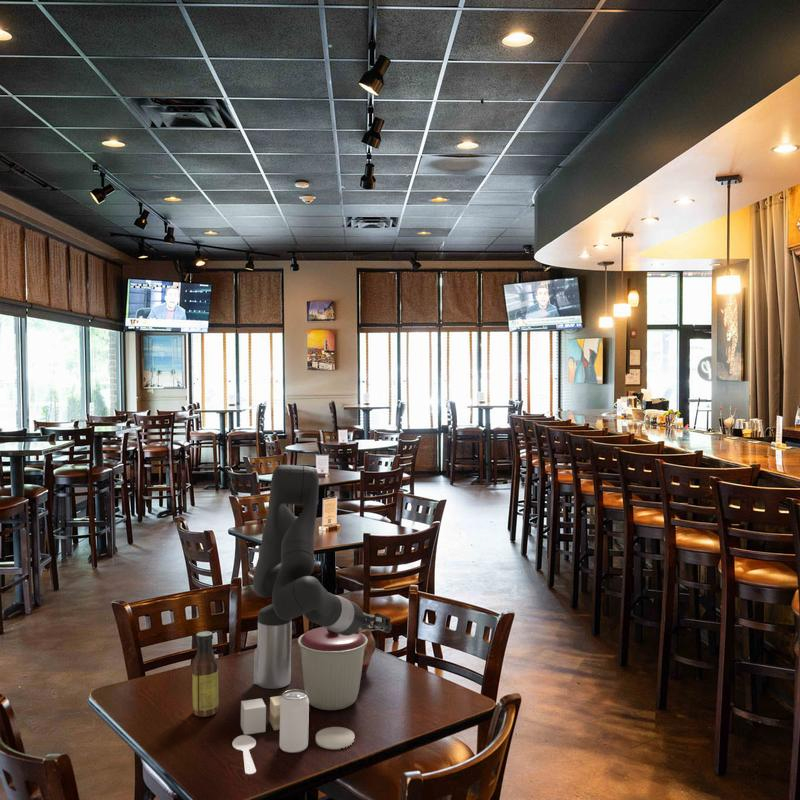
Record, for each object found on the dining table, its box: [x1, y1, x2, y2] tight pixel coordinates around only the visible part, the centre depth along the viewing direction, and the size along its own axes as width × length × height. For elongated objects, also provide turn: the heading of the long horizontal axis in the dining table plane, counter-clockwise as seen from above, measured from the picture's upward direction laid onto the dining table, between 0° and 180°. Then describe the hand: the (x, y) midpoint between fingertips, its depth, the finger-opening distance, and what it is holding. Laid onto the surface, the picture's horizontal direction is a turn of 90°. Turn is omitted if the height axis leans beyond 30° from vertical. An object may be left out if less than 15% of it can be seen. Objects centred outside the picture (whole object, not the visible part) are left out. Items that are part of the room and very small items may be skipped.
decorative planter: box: [359, 624, 376, 676], centre depth 211 cm, size 20×12×14 cm, turn 29°
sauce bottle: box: [191, 630, 219, 718], centre depth 183 cm, size 7×6×20 cm
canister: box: [297, 626, 368, 711], centre depth 191 cm, size 18×18×21 cm
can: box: [279, 689, 310, 754], centre depth 167 cm, size 6×6×12 cm
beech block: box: [269, 695, 283, 731], centre depth 178 cm, size 5×5×6 cm
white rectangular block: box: [240, 698, 267, 736], centre depth 176 cm, size 5×5×6 cm
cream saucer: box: [315, 726, 355, 750], centre depth 171 cm, size 9×9×1 cm
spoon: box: [231, 734, 257, 775], centre depth 163 cm, size 5×18×1 cm, turn 18°
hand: (373, 629), depth 176 cm, fingers open, 8 cm apart
